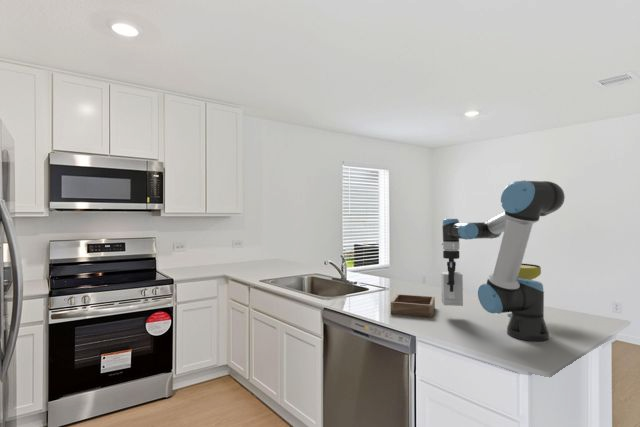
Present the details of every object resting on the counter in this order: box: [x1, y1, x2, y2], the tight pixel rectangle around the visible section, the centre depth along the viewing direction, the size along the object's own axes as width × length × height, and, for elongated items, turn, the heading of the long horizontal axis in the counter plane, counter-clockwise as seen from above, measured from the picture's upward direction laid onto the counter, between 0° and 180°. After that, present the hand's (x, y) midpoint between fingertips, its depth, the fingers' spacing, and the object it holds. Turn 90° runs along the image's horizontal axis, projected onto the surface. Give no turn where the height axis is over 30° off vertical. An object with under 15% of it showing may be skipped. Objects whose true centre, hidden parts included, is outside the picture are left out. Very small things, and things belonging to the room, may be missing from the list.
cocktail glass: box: [507, 263, 542, 319], centre depth 181 cm, size 18×18×25 cm
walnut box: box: [390, 293, 436, 319], centre depth 193 cm, size 20×20×6 cm
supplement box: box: [440, 271, 464, 307], centre depth 181 cm, size 9×9×15 cm
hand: (452, 296), depth 181 cm, fingers closed on supplement box, 10 cm apart
